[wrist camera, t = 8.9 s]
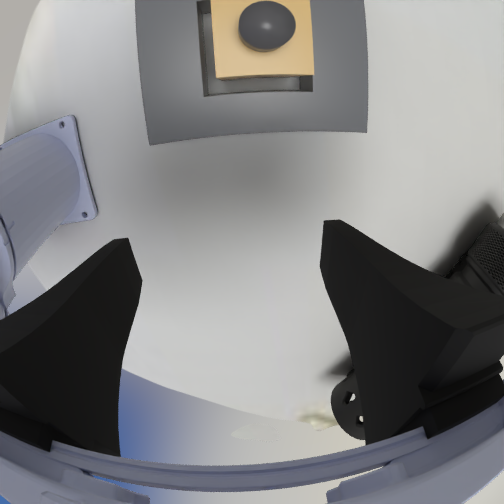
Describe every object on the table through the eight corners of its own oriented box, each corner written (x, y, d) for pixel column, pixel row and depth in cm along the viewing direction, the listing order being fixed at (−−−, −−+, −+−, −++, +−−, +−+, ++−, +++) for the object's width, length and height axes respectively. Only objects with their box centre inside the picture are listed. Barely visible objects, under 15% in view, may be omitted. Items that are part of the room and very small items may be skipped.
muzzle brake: (320, 371, 33) (337, 444, 24) (481, 189, 19) (554, 249, 11) (368, 378, 36) (388, 439, 27) (507, 230, 22) (560, 284, 14)
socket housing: (162, 135, 16) (149, 145, 14) (149, -5, 11) (134, -18, 8) (347, 124, 16) (366, 132, 14) (342, -12, 11) (360, -24, 8)
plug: (221, 80, 15) (213, 76, 8) (217, 22, 12) (207, -18, 6) (287, 77, 15) (325, 74, 8) (284, 20, 12) (319, -18, 6)
